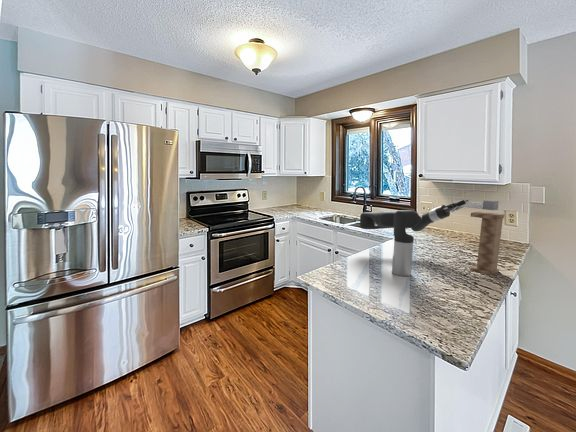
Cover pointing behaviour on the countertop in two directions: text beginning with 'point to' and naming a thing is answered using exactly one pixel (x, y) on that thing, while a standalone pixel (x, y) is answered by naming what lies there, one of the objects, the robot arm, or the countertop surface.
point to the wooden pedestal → (488, 242)
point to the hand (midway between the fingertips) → (466, 201)
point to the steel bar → (481, 205)
